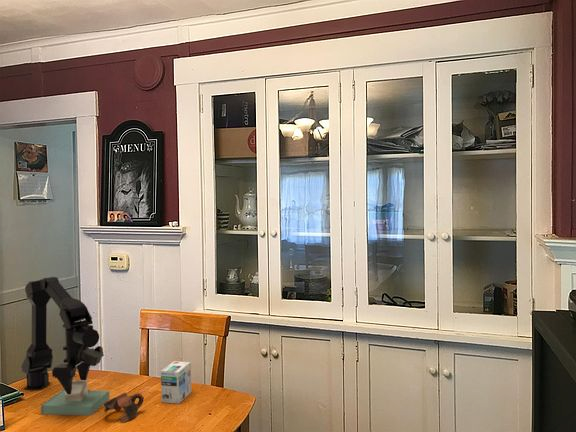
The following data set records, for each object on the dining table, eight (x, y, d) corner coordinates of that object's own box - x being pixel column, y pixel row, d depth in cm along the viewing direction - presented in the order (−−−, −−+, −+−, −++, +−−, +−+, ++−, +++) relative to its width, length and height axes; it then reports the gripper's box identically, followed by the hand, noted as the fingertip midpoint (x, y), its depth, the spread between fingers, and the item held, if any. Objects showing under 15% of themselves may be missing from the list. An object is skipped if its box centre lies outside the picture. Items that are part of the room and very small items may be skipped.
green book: (41, 415, 157) (41, 405, 157) (63, 398, 170) (63, 389, 170) (90, 416, 156) (90, 406, 156) (109, 399, 169) (109, 390, 169)
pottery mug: (114, 428, 148) (103, 403, 149) (109, 431, 155) (99, 406, 157) (151, 408, 154) (140, 383, 156) (145, 411, 162) (134, 388, 164)
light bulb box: (179, 404, 163) (178, 372, 163) (160, 402, 165) (159, 371, 164) (192, 391, 174) (191, 361, 173) (174, 390, 175) (173, 360, 175)
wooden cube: (80, 401, 160) (79, 386, 160) (65, 400, 161) (65, 385, 161) (87, 395, 165) (87, 380, 165) (73, 394, 166) (73, 380, 165)
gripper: (84, 351, 152) (85, 400, 153) (111, 334, 171) (112, 378, 171) (50, 350, 153) (51, 400, 154) (80, 334, 172) (82, 378, 172)
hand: (76, 388), depth 163 cm, fingers open, 9 cm apart
